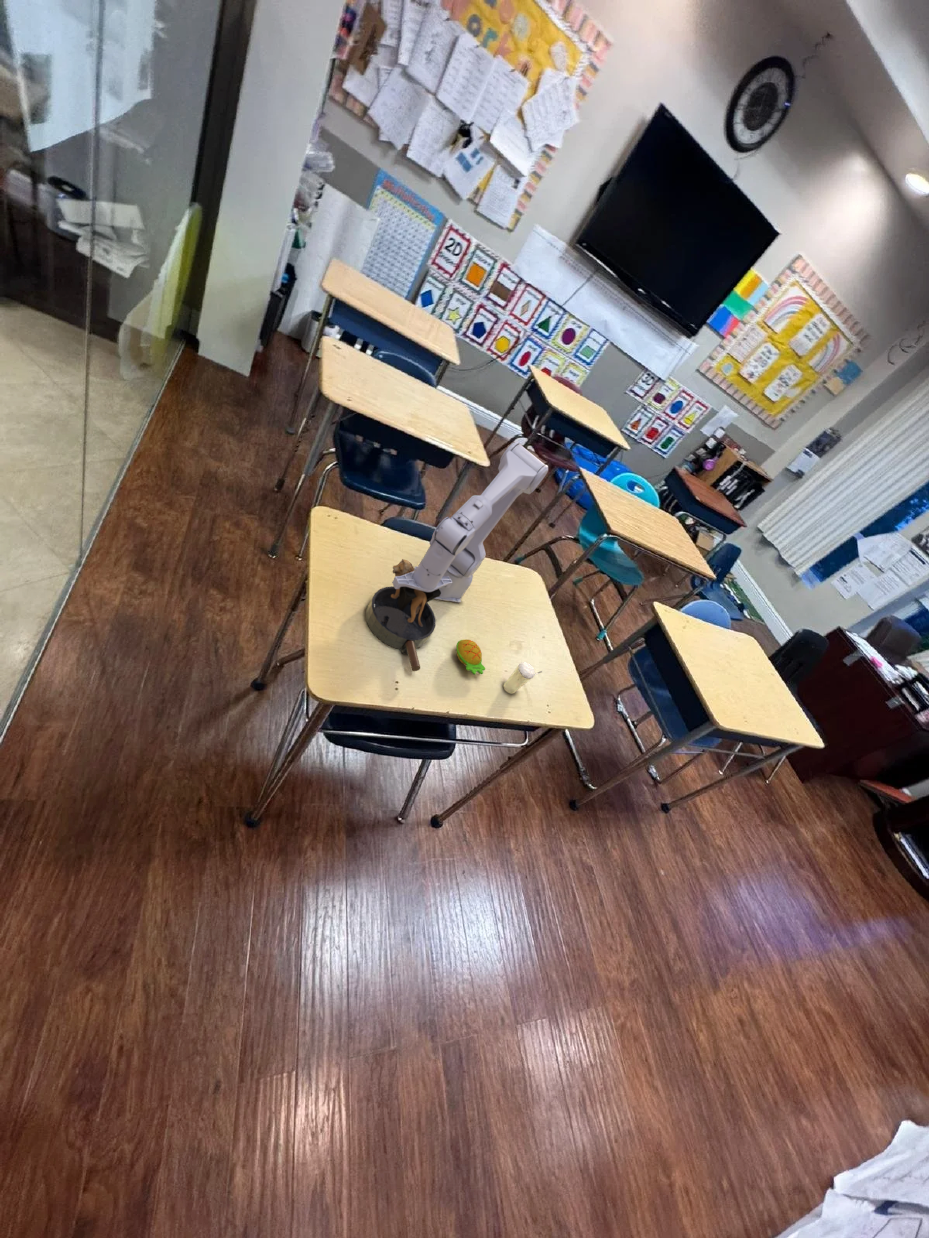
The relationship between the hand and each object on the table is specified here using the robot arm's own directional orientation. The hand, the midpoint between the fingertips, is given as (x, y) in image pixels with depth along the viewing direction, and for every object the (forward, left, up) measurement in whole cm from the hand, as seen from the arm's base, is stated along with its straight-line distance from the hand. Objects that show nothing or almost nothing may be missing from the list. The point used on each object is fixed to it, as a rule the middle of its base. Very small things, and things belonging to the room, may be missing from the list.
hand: (408, 606), depth 119 cm
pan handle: (0, +12, -6) cm, 13 cm away
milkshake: (-27, +17, -6) cm, 33 cm away
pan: (0, 0, -6) cm, 6 cm away
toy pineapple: (-16, +10, -6) cm, 20 cm away
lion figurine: (+1, -1, -1) cm, 2 cm away
